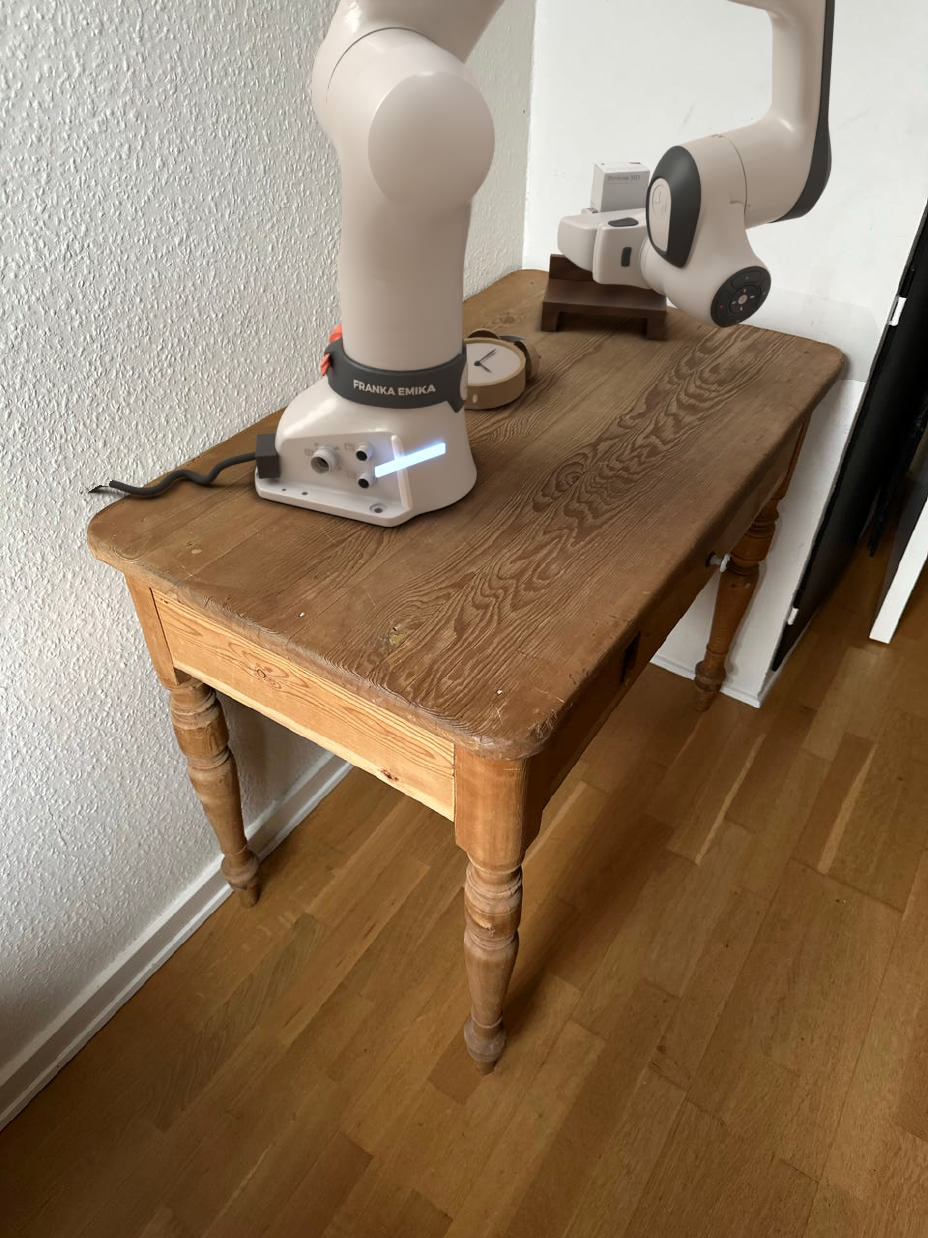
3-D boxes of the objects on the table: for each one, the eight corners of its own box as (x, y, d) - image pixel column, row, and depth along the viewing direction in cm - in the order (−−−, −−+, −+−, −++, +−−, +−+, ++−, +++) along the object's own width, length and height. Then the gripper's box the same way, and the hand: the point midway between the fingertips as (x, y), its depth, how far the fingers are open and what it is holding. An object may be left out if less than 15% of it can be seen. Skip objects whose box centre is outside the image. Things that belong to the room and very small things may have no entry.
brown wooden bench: (540, 330, 120) (544, 277, 115) (546, 304, 127) (550, 253, 122) (662, 340, 118) (670, 287, 114) (661, 312, 125) (670, 261, 120)
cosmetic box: (593, 274, 115) (603, 172, 107) (582, 262, 119) (591, 162, 111) (638, 271, 116) (652, 169, 108) (627, 258, 120) (639, 159, 112)
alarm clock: (408, 369, 104) (482, 306, 112) (414, 404, 108) (485, 341, 116) (488, 397, 100) (560, 329, 107) (491, 433, 103) (560, 365, 111)
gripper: (750, 210, 105) (689, 177, 114) (590, 228, 99) (541, 192, 109) (738, 265, 109) (681, 228, 119) (585, 285, 104) (537, 245, 113)
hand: (612, 211), depth 114 cm, fingers closed on cosmetic box, 6 cm apart
